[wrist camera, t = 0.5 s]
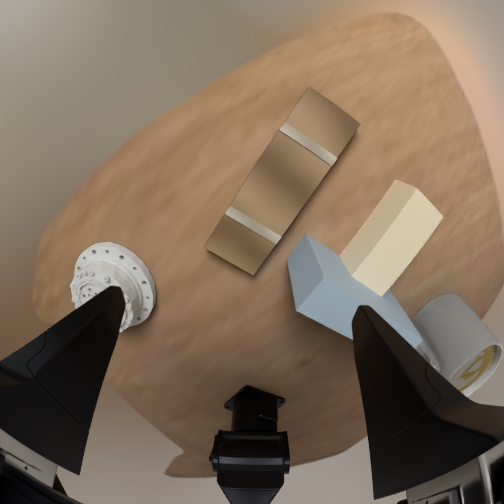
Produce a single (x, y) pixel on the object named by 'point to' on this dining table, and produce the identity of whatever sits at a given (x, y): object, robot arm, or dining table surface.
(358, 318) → the robot arm
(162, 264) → the dining table surface
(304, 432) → the dining table surface
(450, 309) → the coffee mug
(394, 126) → the dining table surface
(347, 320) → the light blue upright panel
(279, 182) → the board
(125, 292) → the mechanical component
